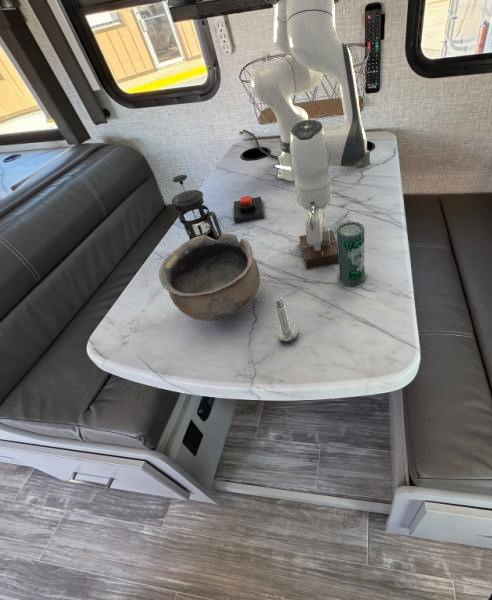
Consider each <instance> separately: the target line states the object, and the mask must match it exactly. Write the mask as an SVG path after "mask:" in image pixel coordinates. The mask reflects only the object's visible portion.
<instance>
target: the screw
mask: <svg viewBox="0 0 492 600" xmlns="http://www.w3.org/2000/svg"><path fill="white" fill-rule="evenodd" d="M275 301H276V302H275V303H276V311H277V315H278V319H279V322H280V326H279V327H278V328H277V329H276V337H277V339H279V341H282V342H286V343H291V342H292V341H293V340H294V339H296V337H297V336H298V334H299V329H298V327H297V326H296V325H295V324H293V323H290V320H289V316H288V312H287V308H286V305H285V304H284V300H283V298H282V297H281V296H278V297H277V298H276V299H275Z"/></svg>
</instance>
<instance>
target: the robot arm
mask: <svg viewBox="0 0 492 600" xmlns="http://www.w3.org/2000/svg"><path fill="white" fill-rule="evenodd" d="M263 1H264V2H266V3H268V4H272V26H271V27H272V29H271V37H272V41H273V43H274V45H275V47H276V49H277V50H278V51H279V52H281V53H283V54H285V56H284V57H282V58H278V59H274V60H271V61H266V62H264V63H262V64H260V65H259V66H256V67H255V68H253V69H252V72H251V75H250V87H251V90H252V93H253V95H254V97H256V98H257V100H258V101H260V102H261V103H263V104H265V105H266V106H268V108H269V109H270V110H271V111H272V112H273V115H274V116H275V119H276V122H277V126H278V131H279V136H280V140H279V144H280V150H281V152H280V154H279V155H274V154H272V153H270V152H267V151H266V150H264V149H263V148H261V146H260V143H259V142H258V138H257V137H256V135H255V134H254V133H253V132H250V131H248V130H246V129H242V130H243V132H241V131H240V132H239V133H240V134H243V133H246V134H248V135H250V136H252V137H253V139H254V140H255V145H256V146H257V148H258V150H259V151H260V152H262V153H263V154H265V155H267V156H269V157H271V158H273V159H277V163H279V165H278V164H276V165H275V167H276V168H278V170H277V179H279V180H285V181H288V182H292V183H293V182H294V188H295V194H296V195H295V196H296V201H297V204H298V206H300V207H302V208H303V210H305V211H306V212H305V216H304V217H305V218H304V226H305V235H306V237H307V243H308V245H314V250H315V251H319V250H321V243H322V235H323V227H324V223H325V214H326V213H325V212H326V208H327V207H328V204H329V203H330V202H331V201H332V199H333V198H332V197H333V196H332V195H333V194H332V181H331V176H330V173H329V167H344V168H346V167H347V168H354V167H357V166H356V165H357V164H359V163H360V162H361V161H362V160H363V158H364V157H365V154H366V150H368V140H367V135H366V131H365V128H364V126H363V122H362V117H361V109H360V101H359V94H358V88H357V82H356V76H355V75H356V74H355V72H354V66H353V60H352V59H353V58H352V55H351V51H350V49H349V47H348V45H347V44H345V43H344V42H342V41H341V40H340V37H339V35H338V33H337V29H336V13H335V12H336V11H335V10H336V9H335V4H338V3H339V2H340V0H263ZM324 76H327V77H329V78H331V79H332V80H333V81H335V82H336V84H337V86H338V89H339V92H340V99H341V105H342V111H343V119H344V120H343V121H341V122H340V123H332V124H323V123H322V122H321V121H319V120H316V119H309V115H308V113H307V111H306V110H305V109H304V108H302V107H300V106H298V105H294V103H293V99H292V97H293V96H298V95H300V94H304V93H307V92H308V93H309V92H310V91H311V90H314V89H315V88H316V87H318V86H319V85H321V83H322V80H323V77H324Z"/></svg>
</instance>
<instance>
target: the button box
mask: <svg viewBox="0 0 492 600" xmlns="http://www.w3.org/2000/svg"><path fill="white" fill-rule="evenodd" d="M251 199H252V204H250V205H247V206H242V205H241V202H240V199H239V200H235V201H233V220H234V223H235V224H241V223H248V222H253V221H258V220H262V219H265V213H264V208H263V201H262V196H256V197H251Z"/></svg>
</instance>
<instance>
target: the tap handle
mask: <svg viewBox="0 0 492 600" xmlns="http://www.w3.org/2000/svg"><path fill="white" fill-rule="evenodd" d="M329 230H330V226H323V235H322V243H321V246H330V233H329ZM309 247H314V245H309Z"/></svg>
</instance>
